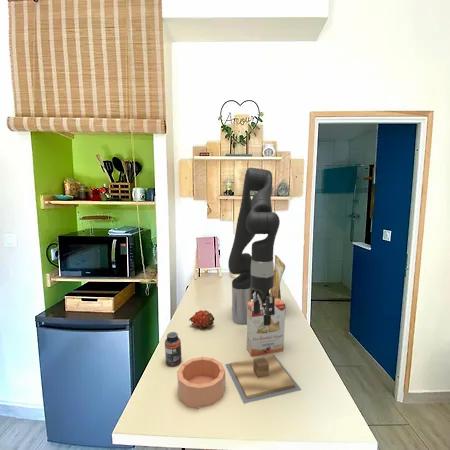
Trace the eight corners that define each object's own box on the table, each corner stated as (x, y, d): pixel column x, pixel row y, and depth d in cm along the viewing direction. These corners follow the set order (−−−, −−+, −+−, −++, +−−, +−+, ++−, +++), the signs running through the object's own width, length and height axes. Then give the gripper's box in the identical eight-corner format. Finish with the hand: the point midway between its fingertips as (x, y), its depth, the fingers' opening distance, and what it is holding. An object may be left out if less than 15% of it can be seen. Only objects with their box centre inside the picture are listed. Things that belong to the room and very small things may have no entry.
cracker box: (251, 358, 112) (251, 307, 109) (246, 350, 118) (246, 301, 115) (284, 352, 116) (285, 303, 113) (277, 344, 122) (278, 297, 118)
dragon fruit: (216, 331, 136) (191, 333, 137) (216, 314, 142) (192, 317, 143) (212, 322, 130) (186, 325, 131) (212, 305, 136) (188, 308, 137)
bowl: (175, 380, 101) (175, 361, 100) (217, 371, 105) (217, 354, 104) (182, 413, 86) (181, 392, 85) (230, 402, 91) (230, 381, 90)
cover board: (230, 366, 107) (230, 351, 106) (272, 357, 112) (272, 344, 111) (246, 399, 91) (246, 382, 90) (295, 387, 96) (295, 371, 95)
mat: (225, 365, 108) (225, 364, 108) (274, 356, 114) (274, 354, 114) (243, 405, 89) (243, 403, 89) (301, 391, 95) (301, 389, 95)
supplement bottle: (174, 355, 115) (173, 328, 113) (184, 361, 111) (183, 333, 109) (162, 362, 110) (161, 335, 108) (172, 369, 107) (171, 340, 105)
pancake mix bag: (279, 302, 163) (281, 254, 158) (284, 319, 144) (285, 264, 140) (267, 302, 163) (268, 253, 159) (270, 318, 144) (271, 264, 140)
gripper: (243, 267, 101) (243, 311, 104) (260, 281, 88) (259, 331, 90) (263, 265, 103) (263, 308, 106) (282, 278, 90) (281, 327, 92)
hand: (261, 319), depth 98 cm, fingers open, 8 cm apart
